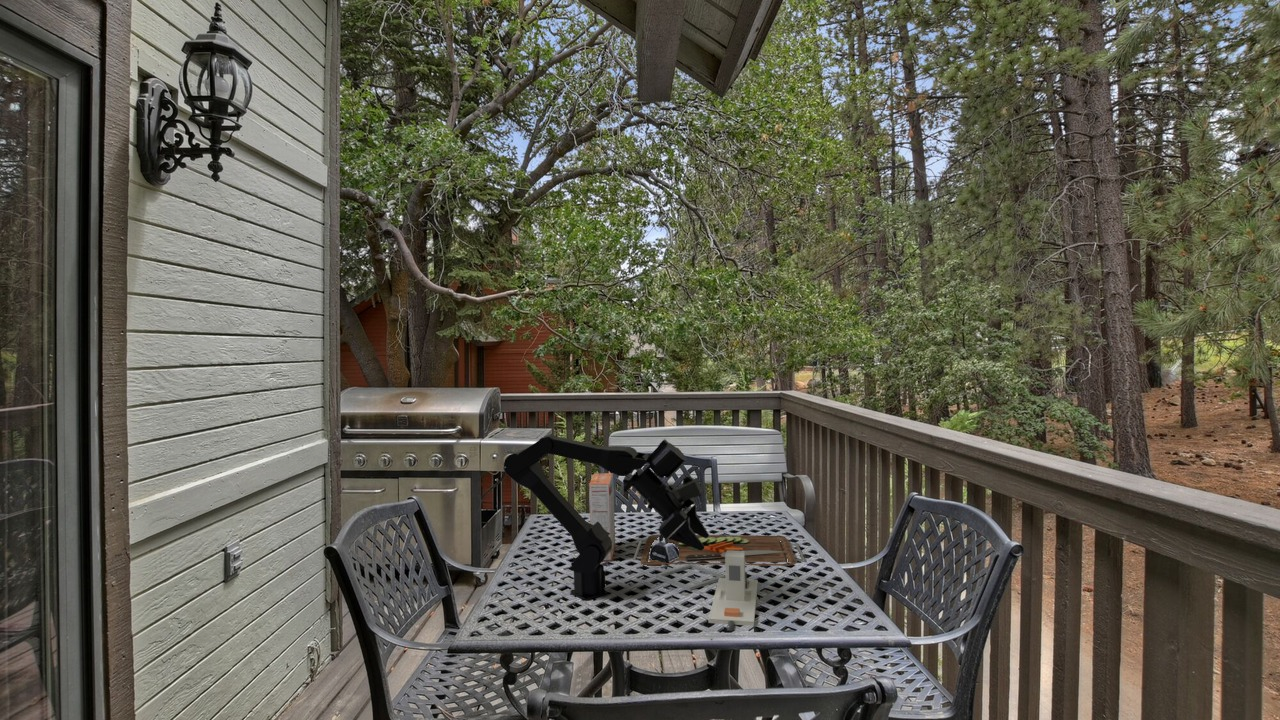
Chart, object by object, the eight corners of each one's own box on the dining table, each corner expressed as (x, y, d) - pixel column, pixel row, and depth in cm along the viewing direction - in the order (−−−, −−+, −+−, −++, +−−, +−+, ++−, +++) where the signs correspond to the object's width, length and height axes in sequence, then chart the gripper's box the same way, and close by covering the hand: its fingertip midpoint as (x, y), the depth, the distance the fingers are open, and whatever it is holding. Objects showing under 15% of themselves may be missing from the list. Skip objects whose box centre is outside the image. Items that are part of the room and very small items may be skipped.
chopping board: (795, 540, 195) (794, 529, 195) (809, 571, 169) (808, 559, 169) (640, 538, 200) (640, 528, 200) (630, 568, 173) (630, 556, 173)
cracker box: (594, 546, 191) (593, 472, 191) (615, 545, 191) (614, 472, 191) (589, 561, 177) (587, 482, 177) (612, 561, 177) (610, 482, 177)
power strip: (753, 636, 131) (753, 623, 131) (707, 632, 133) (706, 620, 132) (757, 586, 157) (757, 576, 157) (719, 584, 159) (719, 574, 159)
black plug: (746, 591, 152) (745, 573, 152) (728, 590, 153) (728, 572, 153) (746, 585, 156) (746, 567, 156) (729, 584, 157) (729, 567, 157)
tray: (689, 593, 153) (689, 587, 153) (655, 580, 163) (655, 574, 163) (726, 581, 161) (725, 575, 161) (691, 569, 170) (691, 563, 170)
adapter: (725, 602, 146) (725, 556, 146) (727, 594, 150) (726, 550, 150) (744, 603, 145) (743, 557, 145) (745, 595, 150) (744, 551, 149)
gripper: (673, 475, 140) (727, 529, 138) (685, 459, 159) (733, 507, 157) (637, 511, 142) (690, 565, 140) (653, 492, 160) (700, 540, 158)
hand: (705, 542), depth 149 cm, fingers open, 9 cm apart
